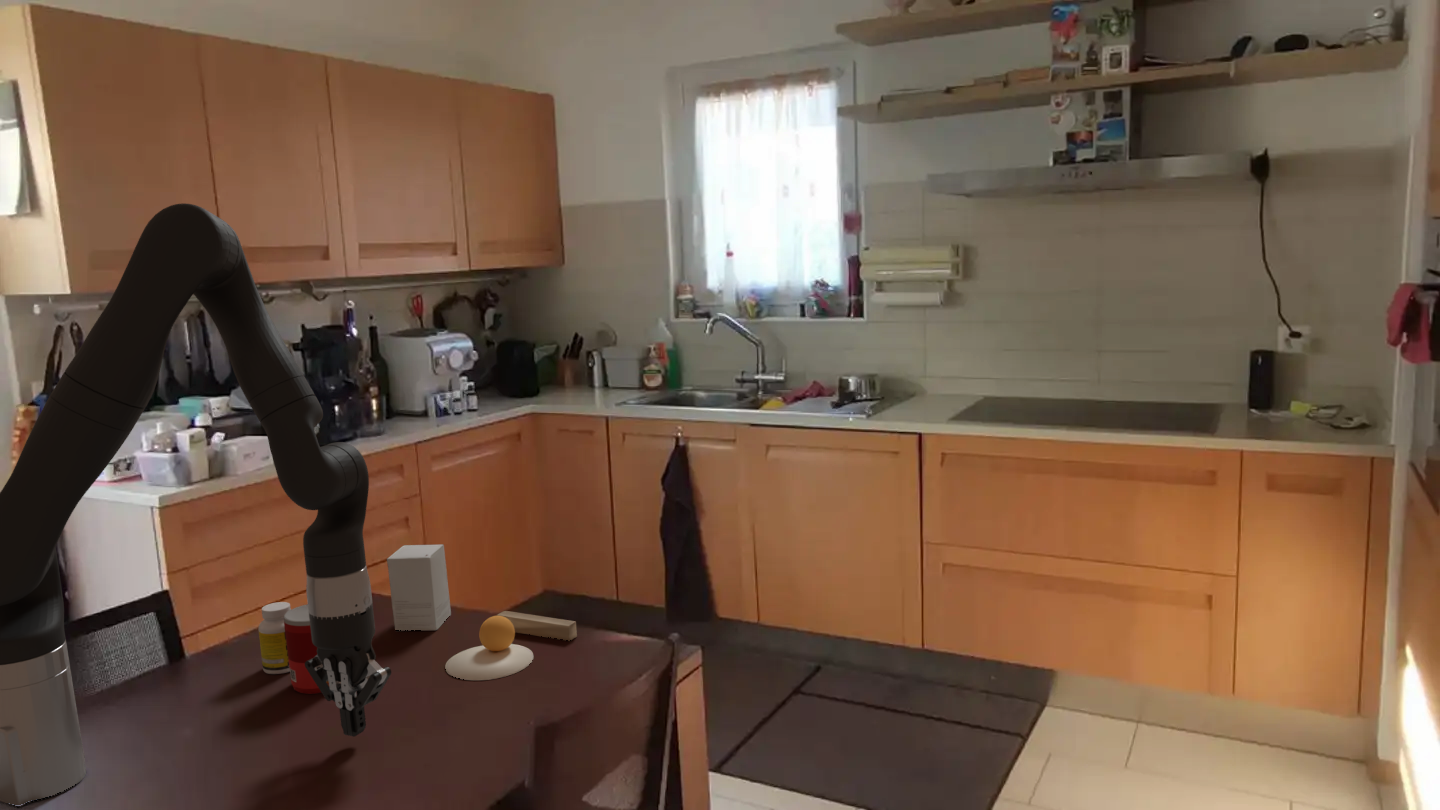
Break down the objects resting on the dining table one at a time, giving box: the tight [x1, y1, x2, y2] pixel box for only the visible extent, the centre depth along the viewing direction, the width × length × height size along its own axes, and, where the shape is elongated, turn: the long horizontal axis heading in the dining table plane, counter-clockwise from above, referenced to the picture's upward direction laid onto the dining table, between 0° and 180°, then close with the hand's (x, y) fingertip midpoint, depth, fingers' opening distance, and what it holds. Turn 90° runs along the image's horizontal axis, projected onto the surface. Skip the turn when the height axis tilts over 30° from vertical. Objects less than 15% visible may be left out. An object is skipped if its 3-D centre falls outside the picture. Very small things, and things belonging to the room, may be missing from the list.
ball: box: [478, 615, 516, 651], centre depth 161 cm, size 5×5×5 cm
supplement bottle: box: [258, 601, 292, 675], centre depth 157 cm, size 5×5×10 cm
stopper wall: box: [496, 610, 578, 642], centre depth 167 cm, size 2×14×2 cm, turn 64°
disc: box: [444, 643, 534, 681], centre depth 157 cm, size 13×13×1 cm
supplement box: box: [386, 543, 452, 632], centre depth 173 cm, size 7×7×13 cm
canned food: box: [284, 603, 329, 695], centre depth 151 cm, size 8×8×11 cm
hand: (354, 733), depth 133 cm, fingers closed
